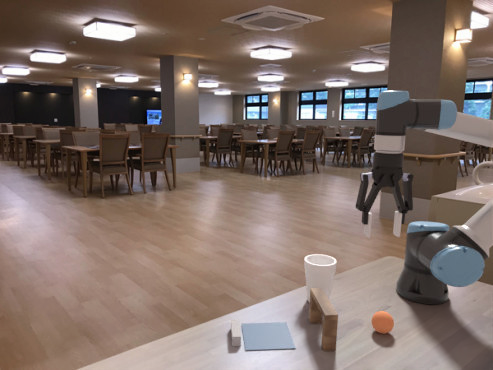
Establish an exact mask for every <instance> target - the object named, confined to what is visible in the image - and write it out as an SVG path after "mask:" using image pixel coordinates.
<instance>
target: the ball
mask: <svg viewBox="0 0 493 370" xmlns="http://www.w3.org/2000/svg"><path fill="white" fill-rule="evenodd" d="M371 325H372V327H373V329H374V330H375V331H376V332H378V333H379V334H382V335H383V334H388V333H390V332H392V330H393V329H394V326H395V321H394V317H393V316H392V315H391V314H390V313H389V312H387V311H384V310H379V311H376V312H375V313H374V314H373V315H372V318H371Z"/></svg>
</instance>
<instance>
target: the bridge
mask: <svg viewBox="0 0 493 370" xmlns="http://www.w3.org/2000/svg"><path fill="white" fill-rule="evenodd" d="M338 320H339V314H338V312H337V311H336V309H335V308H334V305H333V304H332V303H331V301H330V300H329V299H328V298H327V296H326V295H325V293H324V291H323V290H322V288H310V303H309V310H308V321H309V323H310V324H322V326H321V327H322V329H321V343H320V344H321V345H320V347H321V348H322V351H323V352H328V351H329V352H330V351H337V339H338V323H339V321H338Z"/></svg>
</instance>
